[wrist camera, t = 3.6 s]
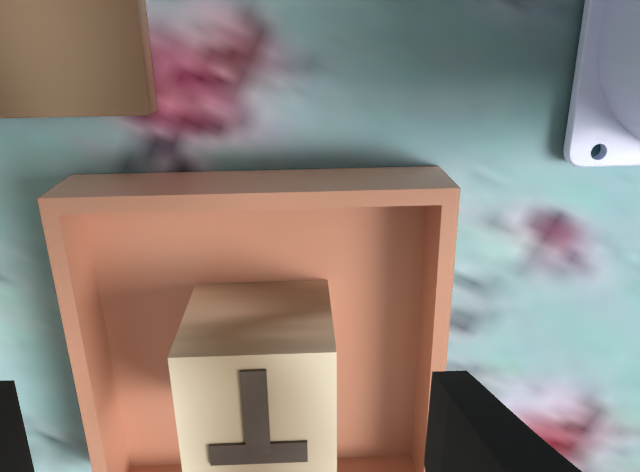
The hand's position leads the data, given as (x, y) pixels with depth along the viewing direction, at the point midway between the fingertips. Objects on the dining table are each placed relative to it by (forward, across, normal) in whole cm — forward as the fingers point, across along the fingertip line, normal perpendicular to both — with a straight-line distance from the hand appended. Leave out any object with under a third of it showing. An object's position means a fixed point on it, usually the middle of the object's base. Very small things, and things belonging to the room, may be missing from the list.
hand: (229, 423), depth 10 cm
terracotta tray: (+10, 0, +4) cm, 11 cm away
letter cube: (+9, 0, +4) cm, 10 cm away
